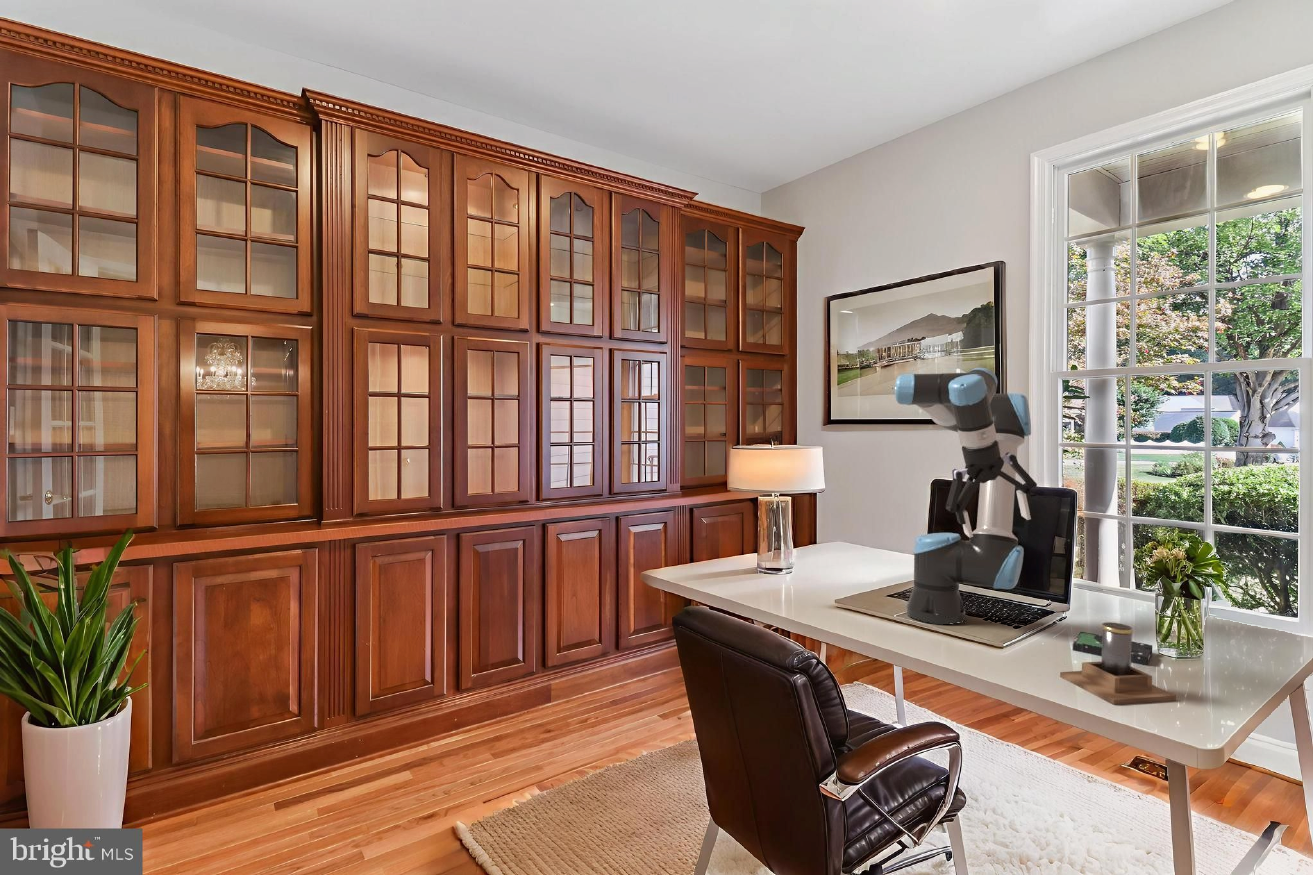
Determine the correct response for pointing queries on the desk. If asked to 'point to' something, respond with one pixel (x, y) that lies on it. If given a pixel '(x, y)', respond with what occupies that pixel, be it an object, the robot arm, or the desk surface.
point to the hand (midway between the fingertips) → (997, 526)
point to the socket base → (1117, 685)
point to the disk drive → (1094, 646)
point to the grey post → (1116, 648)
